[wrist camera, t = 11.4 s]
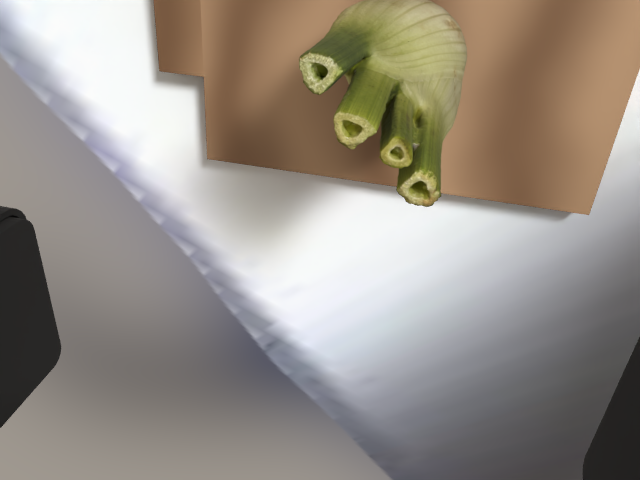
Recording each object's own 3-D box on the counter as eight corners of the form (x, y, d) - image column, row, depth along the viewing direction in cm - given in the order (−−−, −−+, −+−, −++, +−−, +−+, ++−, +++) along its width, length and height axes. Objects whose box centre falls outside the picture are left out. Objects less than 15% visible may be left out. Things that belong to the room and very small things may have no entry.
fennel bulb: (344, -3, 26) (268, 60, 16) (454, -35, 25) (448, 12, 14) (374, 119, 29) (325, 240, 19) (476, 97, 27) (483, 216, 17)
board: (692, -115, 22) (702, -116, 21) (584, 204, 30) (588, 214, 29) (153, -150, 26) (140, -152, 25) (175, 145, 33) (166, 152, 32)
